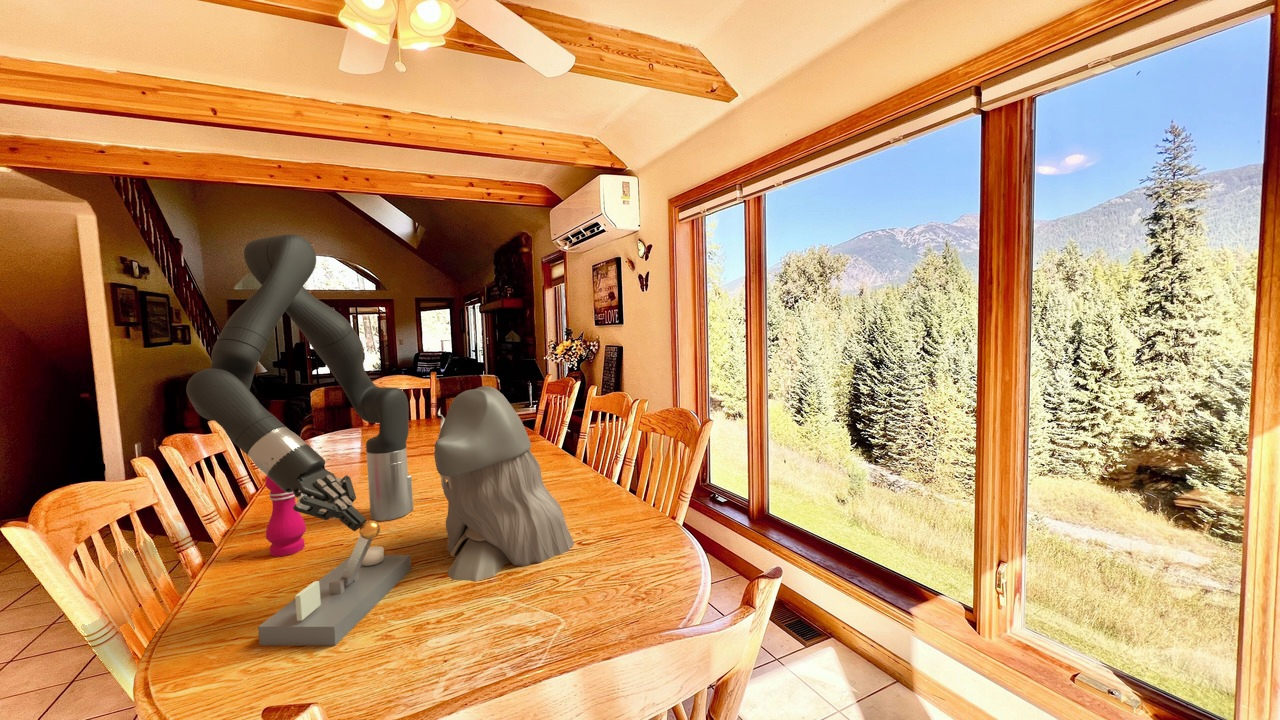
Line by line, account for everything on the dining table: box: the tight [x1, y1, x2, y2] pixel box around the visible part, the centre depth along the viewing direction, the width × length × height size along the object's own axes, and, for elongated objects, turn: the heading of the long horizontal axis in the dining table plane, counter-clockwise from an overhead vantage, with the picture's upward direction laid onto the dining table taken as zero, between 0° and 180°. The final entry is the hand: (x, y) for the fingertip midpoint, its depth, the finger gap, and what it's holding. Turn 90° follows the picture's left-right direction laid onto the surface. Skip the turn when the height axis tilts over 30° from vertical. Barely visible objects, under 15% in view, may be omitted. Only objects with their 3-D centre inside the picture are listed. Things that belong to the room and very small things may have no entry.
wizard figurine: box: [433, 385, 575, 582], centre depth 112 cm, size 34×34×35 cm
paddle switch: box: [294, 580, 321, 621], centre depth 81 cm, size 1×4×4 cm, turn 178°
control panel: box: [257, 554, 412, 646], centre depth 90 cm, size 12×24×5 cm, turn 178°
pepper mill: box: [265, 475, 307, 558], centre depth 111 cm, size 7×7×20 cm
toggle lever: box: [340, 519, 381, 586], centre depth 89 cm, size 3×3×12 cm
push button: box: [362, 545, 385, 566], centre depth 99 cm, size 4×4×2 cm
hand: (360, 526), depth 89 cm, fingers closed
